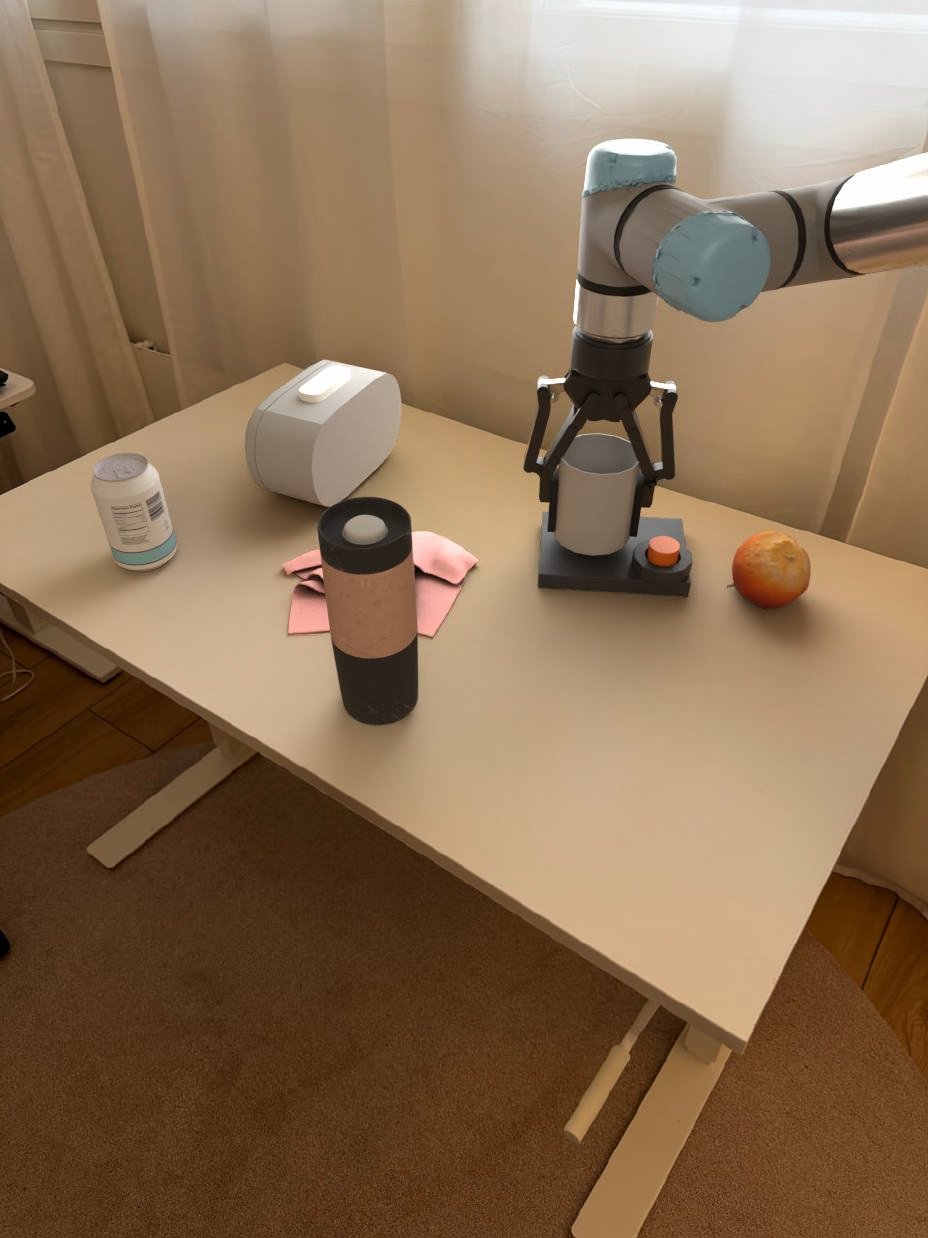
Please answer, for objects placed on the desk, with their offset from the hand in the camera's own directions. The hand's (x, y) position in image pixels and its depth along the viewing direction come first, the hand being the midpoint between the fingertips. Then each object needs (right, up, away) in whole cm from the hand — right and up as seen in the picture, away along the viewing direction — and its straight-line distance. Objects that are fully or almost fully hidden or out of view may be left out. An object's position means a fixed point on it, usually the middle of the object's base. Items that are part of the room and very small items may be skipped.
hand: (592, 527), depth 98 cm
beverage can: (-50, -3, +3) cm, 50 cm away
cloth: (-24, -6, -1) cm, 25 cm away
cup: (0, -1, +1) cm, 1 cm away
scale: (+2, -3, +2) cm, 5 cm away
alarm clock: (-31, +8, +16) cm, 35 cm away
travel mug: (-22, -18, -14) cm, 32 cm away
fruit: (+18, -8, -3) cm, 20 cm away
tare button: (+7, -4, -3) cm, 9 cm away
